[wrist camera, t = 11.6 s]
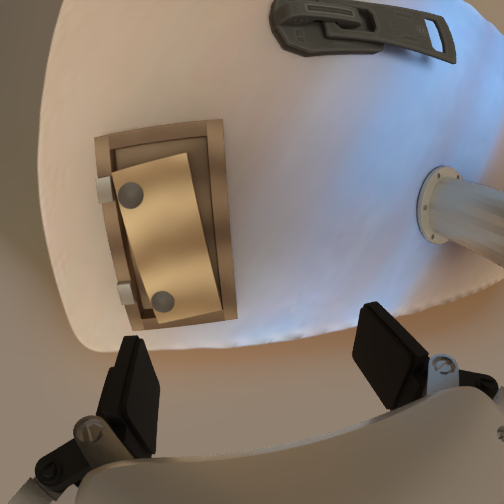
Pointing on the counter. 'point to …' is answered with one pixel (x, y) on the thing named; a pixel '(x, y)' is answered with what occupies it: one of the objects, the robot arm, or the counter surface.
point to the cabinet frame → (208, 198)
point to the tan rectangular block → (168, 237)
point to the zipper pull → (355, 28)
